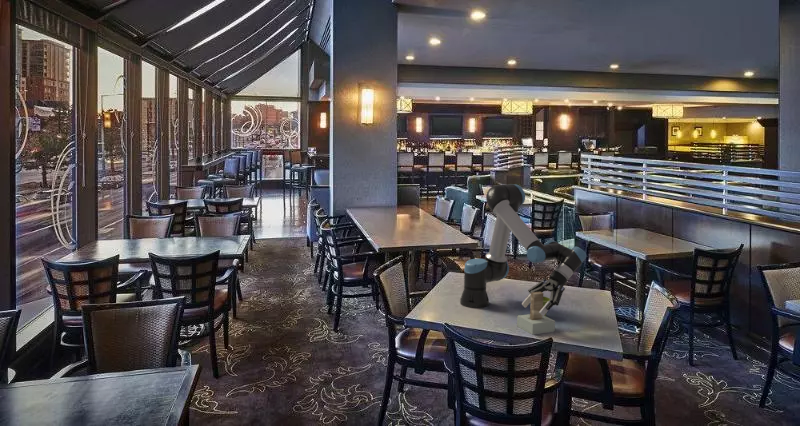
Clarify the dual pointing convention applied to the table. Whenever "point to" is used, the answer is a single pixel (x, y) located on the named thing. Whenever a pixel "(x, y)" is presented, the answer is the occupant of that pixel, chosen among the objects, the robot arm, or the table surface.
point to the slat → (536, 305)
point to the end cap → (535, 324)
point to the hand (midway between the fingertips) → (532, 310)
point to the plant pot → (545, 301)
